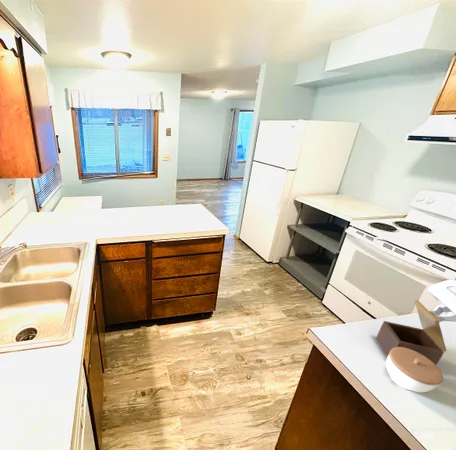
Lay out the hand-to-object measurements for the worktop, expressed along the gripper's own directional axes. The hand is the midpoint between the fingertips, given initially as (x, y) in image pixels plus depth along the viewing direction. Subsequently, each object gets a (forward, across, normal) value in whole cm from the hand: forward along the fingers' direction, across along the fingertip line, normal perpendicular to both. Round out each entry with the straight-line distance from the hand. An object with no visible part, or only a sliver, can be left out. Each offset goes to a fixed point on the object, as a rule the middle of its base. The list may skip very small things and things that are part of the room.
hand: (431, 317), depth 72 cm
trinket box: (+16, -11, -7) cm, 21 cm away
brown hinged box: (+13, 0, -10) cm, 17 cm away
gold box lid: (+2, 0, -3) cm, 3 cm away
